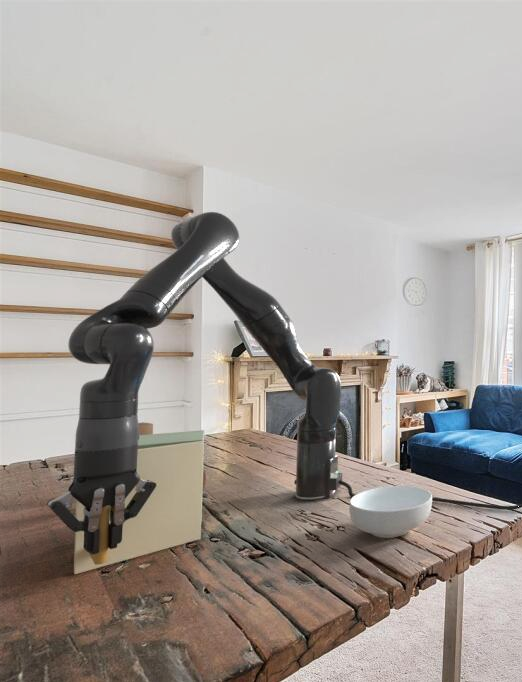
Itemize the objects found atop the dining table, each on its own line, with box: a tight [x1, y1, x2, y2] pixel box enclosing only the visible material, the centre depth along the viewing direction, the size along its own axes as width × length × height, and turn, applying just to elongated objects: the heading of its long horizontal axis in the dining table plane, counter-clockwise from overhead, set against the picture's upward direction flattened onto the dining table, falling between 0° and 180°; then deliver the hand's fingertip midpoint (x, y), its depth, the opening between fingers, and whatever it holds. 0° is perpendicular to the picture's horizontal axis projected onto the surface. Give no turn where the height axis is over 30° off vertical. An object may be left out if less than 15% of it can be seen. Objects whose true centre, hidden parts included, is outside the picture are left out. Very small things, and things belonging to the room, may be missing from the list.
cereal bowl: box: [348, 485, 433, 539], centre depth 91 cm, size 17×17×7 cm
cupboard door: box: [73, 441, 204, 575], centre depth 77 cm, size 7×18×19 cm, turn 141°
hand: (102, 549), depth 70 cm, fingers closed on cupboard door
